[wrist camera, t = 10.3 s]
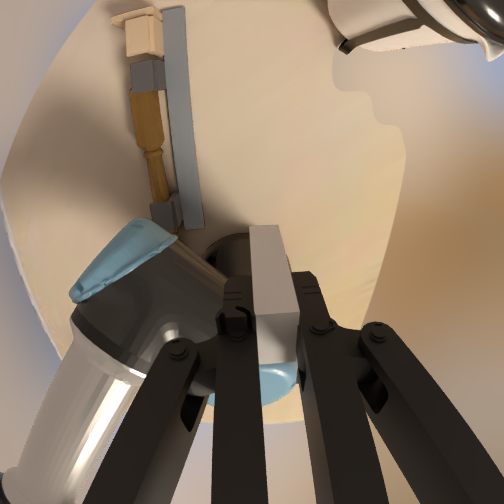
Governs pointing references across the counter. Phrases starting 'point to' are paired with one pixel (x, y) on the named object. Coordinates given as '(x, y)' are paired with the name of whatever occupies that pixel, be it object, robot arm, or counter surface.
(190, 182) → the board
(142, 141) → the tap handle
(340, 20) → the coffee press
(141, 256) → the robot arm
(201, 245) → the counter surface
